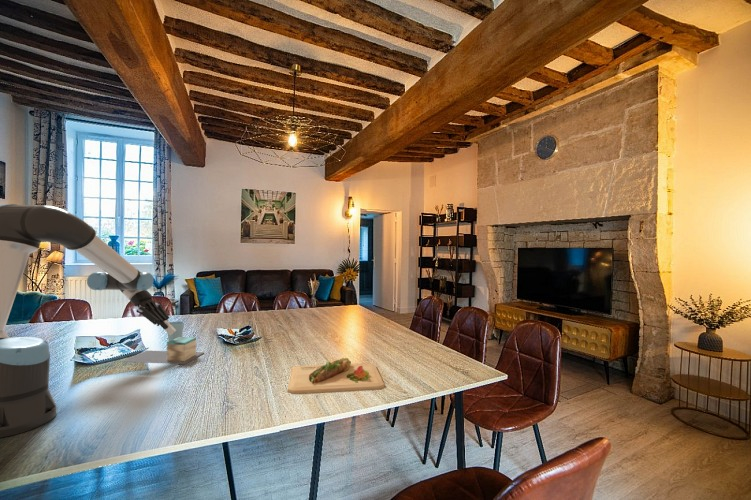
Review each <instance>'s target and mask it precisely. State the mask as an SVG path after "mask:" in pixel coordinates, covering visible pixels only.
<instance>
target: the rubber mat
mask: <svg viewBox="0 0 751 500" xmlns="http://www.w3.org/2000/svg"><path fill="white" fill-rule="evenodd" d="M204 354H205V352H203V351H196V355H194V356H193V357H191V358H189V359H187V360H185V361H174V360H167V350H165V351H164V350H144V351H142V352H140V353H137V354H135V355H133V356H130V357H128V358H125V359H123V360H121V361H120V362H122V363H141V364H142V363H143V364H144V363H148V364H149V363H150V364H170V365H171V364H176V365H178V366H185V365H187V364H188V363H191V362H192V361H194V360H195V359H197V358H198V357H200V356H202V355H204Z"/></svg>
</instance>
